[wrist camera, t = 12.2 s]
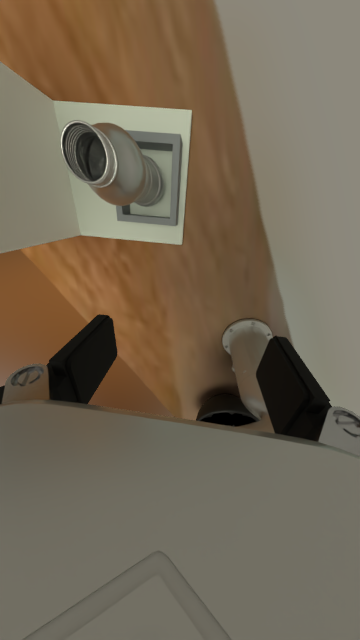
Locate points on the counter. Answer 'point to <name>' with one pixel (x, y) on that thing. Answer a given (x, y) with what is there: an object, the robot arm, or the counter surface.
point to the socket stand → (68, 191)
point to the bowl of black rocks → (225, 411)
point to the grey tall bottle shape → (111, 163)
